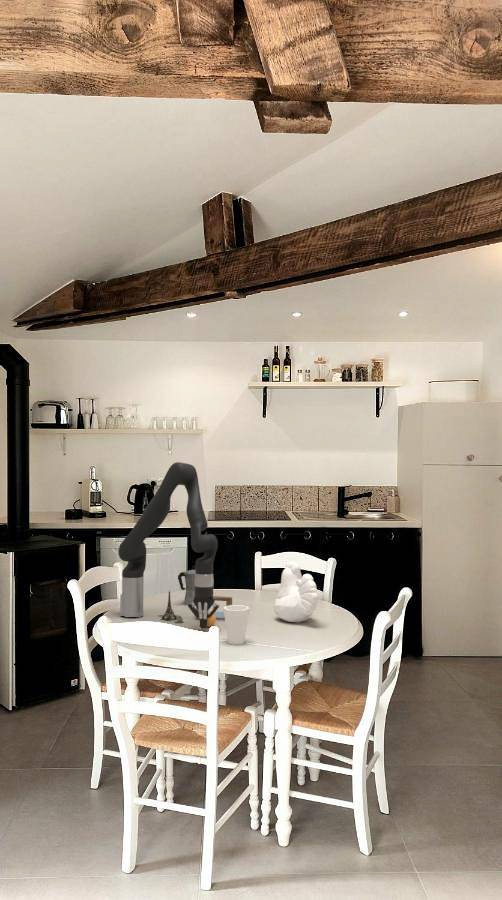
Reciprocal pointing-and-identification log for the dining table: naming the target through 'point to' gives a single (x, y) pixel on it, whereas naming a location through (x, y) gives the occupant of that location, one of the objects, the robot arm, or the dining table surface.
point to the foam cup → (236, 623)
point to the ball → (211, 620)
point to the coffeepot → (188, 585)
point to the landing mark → (219, 615)
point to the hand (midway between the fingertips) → (203, 627)
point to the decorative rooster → (295, 595)
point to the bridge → (219, 598)
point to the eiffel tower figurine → (170, 614)
